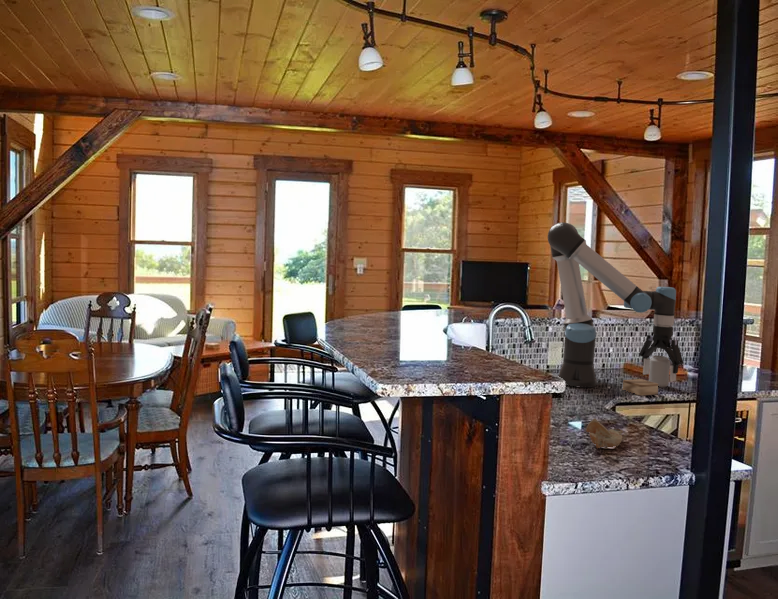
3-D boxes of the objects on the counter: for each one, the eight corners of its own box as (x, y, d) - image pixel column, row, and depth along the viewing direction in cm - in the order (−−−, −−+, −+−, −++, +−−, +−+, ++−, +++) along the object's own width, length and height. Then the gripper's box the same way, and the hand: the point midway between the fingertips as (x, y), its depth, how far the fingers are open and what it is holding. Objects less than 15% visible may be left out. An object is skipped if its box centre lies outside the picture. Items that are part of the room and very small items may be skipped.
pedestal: (622, 390, 272) (623, 380, 272) (639, 388, 276) (640, 378, 276) (640, 395, 264) (641, 385, 264) (657, 394, 268) (658, 383, 268)
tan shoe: (576, 451, 190) (579, 415, 189) (604, 435, 207) (606, 402, 206) (607, 459, 185) (611, 421, 184) (633, 442, 202) (636, 408, 201)
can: (665, 384, 288) (667, 355, 287) (670, 388, 280) (673, 358, 279) (646, 383, 288) (648, 354, 287) (651, 387, 281) (653, 357, 280)
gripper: (695, 329, 273) (691, 383, 275) (646, 321, 295) (641, 371, 297) (682, 330, 269) (677, 384, 271) (632, 321, 291) (628, 372, 293)
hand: (658, 377), depth 284 cm, fingers open, 13 cm apart
